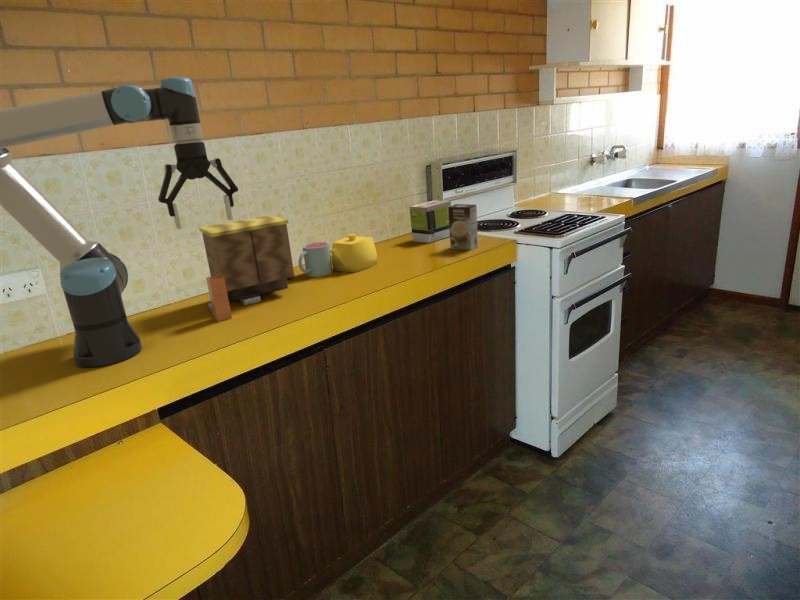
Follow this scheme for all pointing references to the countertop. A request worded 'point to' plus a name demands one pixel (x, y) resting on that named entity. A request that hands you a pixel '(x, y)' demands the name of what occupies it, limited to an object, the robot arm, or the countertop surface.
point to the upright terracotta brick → (218, 298)
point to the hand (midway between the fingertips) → (205, 224)
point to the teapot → (353, 253)
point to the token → (250, 298)
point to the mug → (316, 259)
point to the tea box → (430, 221)
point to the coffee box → (463, 226)
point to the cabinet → (249, 255)
